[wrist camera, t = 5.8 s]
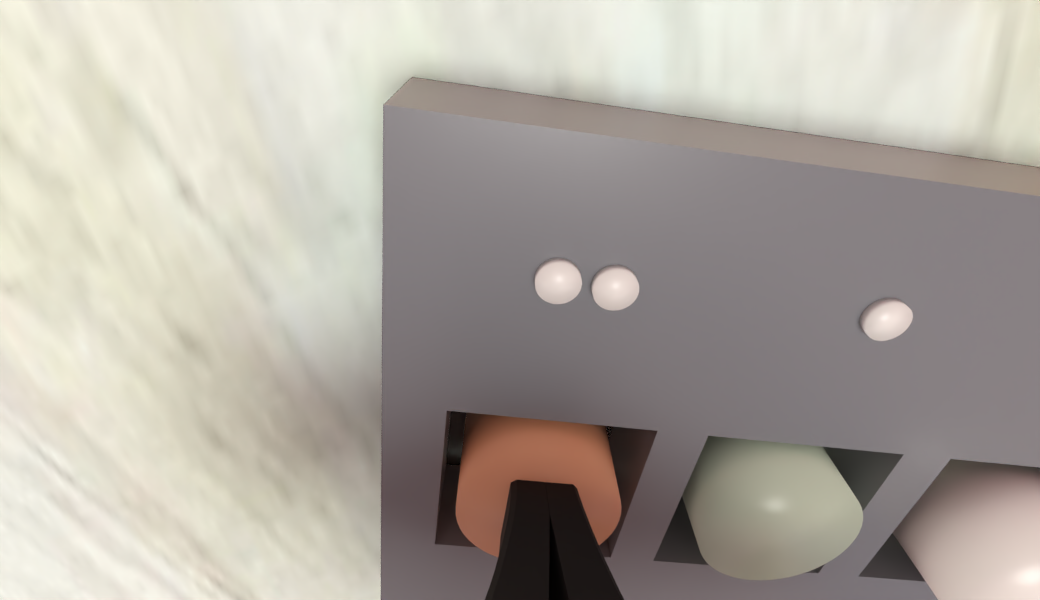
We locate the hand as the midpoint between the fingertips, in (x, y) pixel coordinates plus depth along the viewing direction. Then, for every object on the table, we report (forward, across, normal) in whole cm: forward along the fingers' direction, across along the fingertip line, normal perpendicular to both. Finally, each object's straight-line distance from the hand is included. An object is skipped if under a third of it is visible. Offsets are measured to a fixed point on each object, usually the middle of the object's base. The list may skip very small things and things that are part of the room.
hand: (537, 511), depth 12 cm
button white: (+2, -11, 0) cm, 11 cm away
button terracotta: (+3, 0, 0) cm, 3 cm away
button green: (+3, -6, 0) cm, 6 cm away
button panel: (+3, -6, 0) cm, 6 cm away
